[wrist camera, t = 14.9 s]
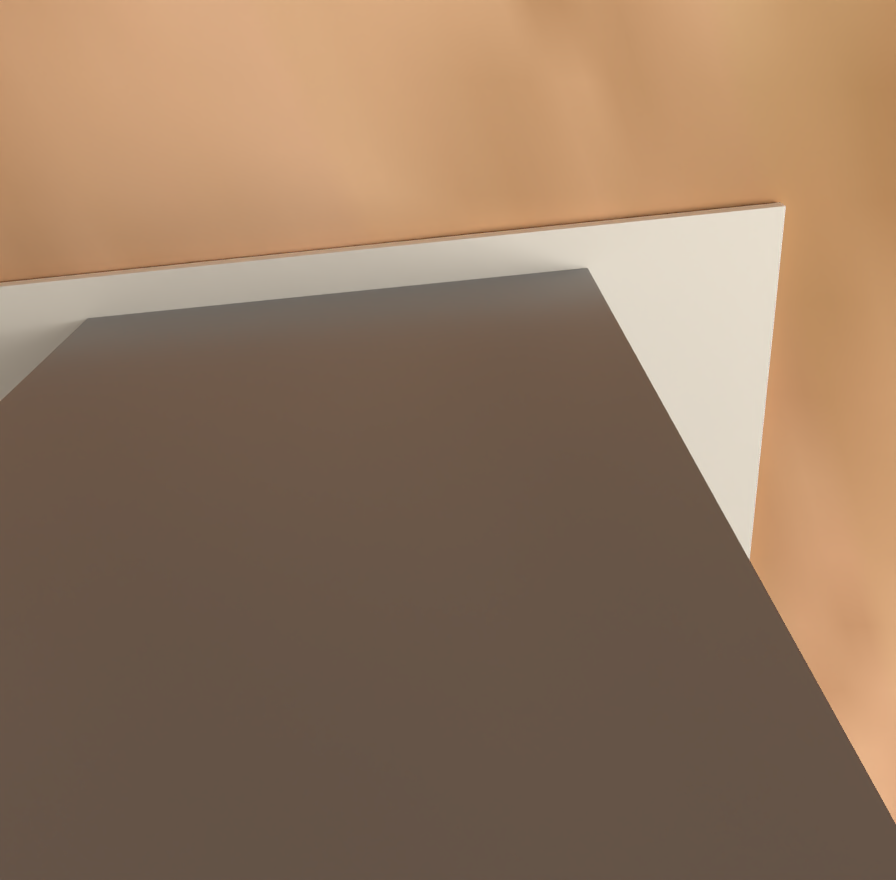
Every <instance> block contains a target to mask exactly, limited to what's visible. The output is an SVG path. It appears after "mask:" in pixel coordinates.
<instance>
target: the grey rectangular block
mask: <svg viewBox="0 0 896 880" xmlns="http://www.w3.org/2000/svg"><path fill="white" fill-rule="evenodd" d="M0 880H896V824H895V822H894V820H893V819H892V817H891V815H890V813H889V811H888V809H887V808H886V806H885V804H884V802H883V800H882V799H881V797H880V795H879V793H878V791H877V790H876V788H875V786H874V784H873V782H872V781H871V779H870V777H869V775H868V773H867V772H866V770H865V768H864V766H863V764H862V763H861V761H860V759H859V757H858V755H857V754H856V752H855V750H854V748H853V746H852V744H851V743H850V741H849V739H848V737H847V735H846V734H845V732H844V730H843V728H842V726H841V725H840V723H839V721H838V719H837V717H836V716H835V714H834V712H833V710H832V708H831V707H830V705H829V703H828V701H827V699H826V698H825V696H824V694H823V692H822V690H821V688H820V687H819V685H818V683H817V681H816V679H815V678H814V676H813V674H812V672H811V670H810V669H809V667H808V665H807V663H806V661H805V660H804V658H803V656H802V654H801V652H800V651H799V649H798V647H797V645H796V643H795V642H794V640H793V638H792V636H791V634H790V633H789V631H788V629H787V627H786V625H785V623H784V622H783V620H782V618H781V616H780V614H779V613H778V611H777V609H776V607H775V605H774V604H773V602H772V600H771V598H770V596H769V595H768V593H767V591H766V589H765V587H764V586H763V584H762V582H761V580H760V578H759V577H758V575H757V573H756V571H755V569H754V567H753V566H752V564H751V562H750V560H749V558H748V557H747V555H746V553H745V551H744V549H743V548H742V546H741V544H740V542H739V540H738V539H737V537H736V535H735V533H734V531H733V530H732V528H731V526H730V524H729V522H728V521H727V519H726V517H725V515H724V513H723V512H722V510H721V508H720V506H719V504H718V502H717V501H716V499H715V497H714V495H713V493H712V492H711V490H710V488H709V486H708V484H707V483H706V481H705V479H704V477H703V475H702V474H701V472H700V470H699V468H698V466H697V465H696V463H695V461H694V459H693V457H692V456H691V454H690V452H689V450H688V448H687V446H686V445H685V443H684V441H683V439H682V437H681V436H680V434H679V432H678V430H677V428H676V427H675V425H674V423H673V421H672V419H671V418H670V416H669V414H668V412H667V410H666V409H665V407H664V405H663V403H662V401H661V400H660V398H659V396H658V394H657V392H656V391H655V389H654V387H653V385H652V383H651V381H650V380H649V378H648V376H647V374H646V372H645V371H644V369H643V367H642V365H641V363H640V362H639V360H638V358H637V356H636V354H635V353H634V351H633V349H632V347H631V345H630V344H629V342H628V340H627V338H626V336H625V335H624V333H623V331H622V329H621V327H620V325H619V324H618V322H617V320H616V318H615V316H614V315H613V313H612V311H611V309H610V307H609V306H608V304H607V302H606V300H605V298H604V297H603V295H602V293H601V291H600V289H599V288H598V286H597V284H596V282H595V280H594V279H593V277H592V275H591V273H590V271H589V270H588V268H581V269H571V270H561V271H551V272H541V273H531V274H521V275H511V276H501V277H491V278H481V279H472V280H462V281H452V282H442V283H432V284H422V285H412V286H402V287H392V288H382V289H372V290H362V291H352V292H343V293H333V294H323V295H313V296H303V297H293V298H283V299H273V300H263V301H253V302H243V303H233V304H223V305H213V306H204V307H194V308H184V309H174V310H164V311H154V312H144V313H134V314H124V315H114V316H104V317H94V318H87V319H86V320H85V321H84V322H83V323H82V324H81V325H80V326H79V327H78V328H77V329H76V330H75V331H73V332H72V333H71V334H70V335H69V336H68V337H67V338H66V339H65V340H64V341H63V342H62V343H61V344H60V345H59V346H58V347H57V348H56V349H55V350H54V351H53V352H51V353H50V354H49V355H48V356H47V357H46V358H45V359H44V360H43V361H42V362H41V363H40V364H39V365H38V366H37V367H36V368H35V369H34V370H33V371H32V372H30V373H29V374H28V375H27V376H26V377H25V378H24V379H23V380H22V381H21V382H20V383H19V384H18V385H17V386H16V387H15V388H14V389H13V390H12V391H11V392H9V393H8V394H7V395H6V396H5V397H4V398H3V399H2V400H1V401H0Z"/></svg>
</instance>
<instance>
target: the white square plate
mask: <svg viewBox="0 0 896 880" xmlns="http://www.w3.org/2000/svg"><path fill="white" fill-rule="evenodd" d="M785 208H786V206H785V205H783V204H782V203H770V204H760V205H750V206H741V207H731V208H721V209H711V210H702V211H692V212H682V213H672V214H663V215H653V216H643V217H634V218H624V219H614V220H604V221H595V222H585V223H575V224H565V225H556V226H546V227H536V228H527V229H517V230H507V231H497V232H488V233H478V234H468V235H458V236H449V237H439V238H429V239H420V240H410V241H400V242H390V243H381V244H371V245H361V246H351V247H342V248H332V249H322V250H312V251H303V252H293V253H283V254H274V255H264V256H254V257H244V258H235V259H225V260H215V261H205V262H196V263H186V264H176V265H167V266H157V267H147V268H137V269H128V270H118V271H108V272H98V273H89V274H79V275H69V276H60V277H50V278H40V279H30V280H21V281H11V282H1V283H0V401H1V400H2V399H3V398H4V397H5V396H6V395H7V394H8V393H9V392H11V391H12V390H13V389H14V388H15V387H16V386H17V385H18V384H19V383H20V382H21V381H22V380H23V379H24V378H25V377H26V376H27V375H28V374H29V373H30V372H32V371H33V370H34V369H35V368H36V367H37V366H38V365H39V364H40V363H41V362H42V361H43V360H44V359H45V358H46V357H47V356H48V355H49V354H50V353H51V352H53V351H54V350H55V349H56V348H57V347H58V346H59V345H60V344H61V343H62V342H63V341H64V340H65V339H66V338H67V337H68V336H69V335H70V334H71V333H72V332H73V331H75V330H76V329H77V328H78V327H79V326H80V325H81V324H82V323H83V322H84V321H85V320H86V319H87V318H94V317H104V316H114V315H124V314H134V313H144V312H154V311H164V310H174V309H184V308H194V307H204V306H213V305H223V304H233V303H243V302H253V301H263V300H273V299H283V298H293V297H303V296H313V295H323V294H333V293H343V292H352V291H362V290H372V289H382V288H392V287H402V286H412V285H422V284H432V283H442V282H452V281H462V280H472V279H481V278H491V277H501V276H511V275H521V274H531V273H541V272H551V271H561V270H571V269H581V268H588V270H589V271H590V273H591V275H592V277H593V279H594V280H595V282H596V284H597V286H598V288H599V289H600V291H601V293H602V295H603V297H604V298H605V300H606V302H607V304H608V306H609V307H610V309H611V311H612V313H613V315H614V316H615V318H616V320H617V322H618V324H619V325H620V327H621V329H622V331H623V333H624V335H625V336H626V338H627V340H628V342H629V344H630V345H631V347H632V349H633V351H634V353H635V354H636V356H637V358H638V360H639V362H640V363H641V365H642V367H643V369H644V371H645V372H646V374H647V376H648V378H649V380H650V381H651V383H652V385H653V387H654V389H655V391H656V392H657V394H658V396H659V398H660V400H661V401H662V403H663V405H664V407H665V409H666V410H667V412H668V414H669V416H670V418H671V419H672V421H673V423H674V425H675V427H676V428H677V430H678V432H679V434H680V436H681V437H682V439H683V441H684V443H685V445H686V446H687V448H688V450H689V452H690V454H691V456H692V457H693V459H694V461H695V463H696V465H697V466H698V468H699V470H700V472H701V474H702V475H703V477H704V479H705V481H706V483H707V484H708V486H709V488H710V490H711V492H712V493H713V495H714V497H715V499H716V501H717V502H718V504H719V506H720V508H721V510H722V512H723V513H724V515H725V517H726V519H727V521H728V522H729V524H730V526H731V528H732V530H733V531H734V533H735V535H736V537H737V539H738V540H739V542H740V544H741V546H742V548H743V549H744V551H745V553H746V555H747V557H748V558H749V560H750V550H751V541H752V531H753V521H754V511H755V502H756V492H757V482H758V472H759V462H760V453H761V443H762V433H763V423H764V414H765V404H766V394H767V384H768V375H769V365H770V355H771V345H772V335H773V326H774V316H775V306H776V296H777V287H778V277H779V267H780V257H781V248H782V238H783V228H784V218H785Z"/></svg>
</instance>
